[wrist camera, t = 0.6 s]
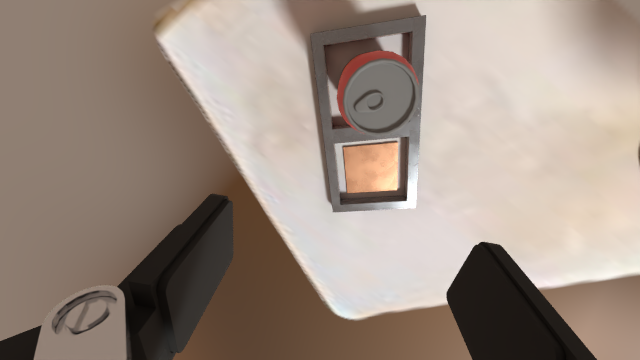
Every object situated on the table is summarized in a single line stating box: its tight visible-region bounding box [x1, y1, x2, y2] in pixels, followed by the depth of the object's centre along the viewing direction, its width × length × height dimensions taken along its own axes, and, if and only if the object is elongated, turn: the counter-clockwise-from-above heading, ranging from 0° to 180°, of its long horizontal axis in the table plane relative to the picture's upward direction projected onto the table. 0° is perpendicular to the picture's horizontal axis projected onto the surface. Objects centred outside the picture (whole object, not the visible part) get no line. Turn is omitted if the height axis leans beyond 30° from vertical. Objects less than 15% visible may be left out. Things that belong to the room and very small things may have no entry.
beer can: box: [337, 50, 419, 136], centre depth 23 cm, size 7×7×12 cm
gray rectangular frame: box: [310, 15, 426, 212], centre depth 30 cm, size 12×23×2 cm, turn 7°
